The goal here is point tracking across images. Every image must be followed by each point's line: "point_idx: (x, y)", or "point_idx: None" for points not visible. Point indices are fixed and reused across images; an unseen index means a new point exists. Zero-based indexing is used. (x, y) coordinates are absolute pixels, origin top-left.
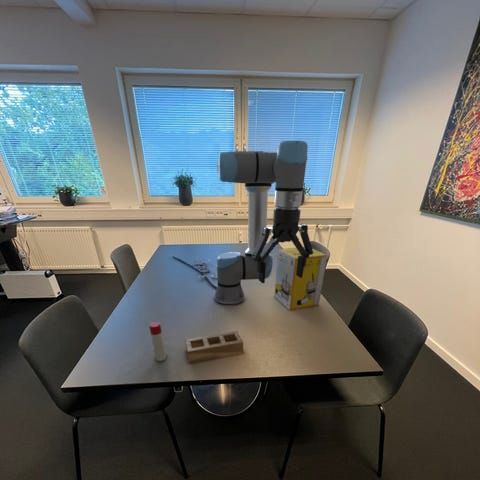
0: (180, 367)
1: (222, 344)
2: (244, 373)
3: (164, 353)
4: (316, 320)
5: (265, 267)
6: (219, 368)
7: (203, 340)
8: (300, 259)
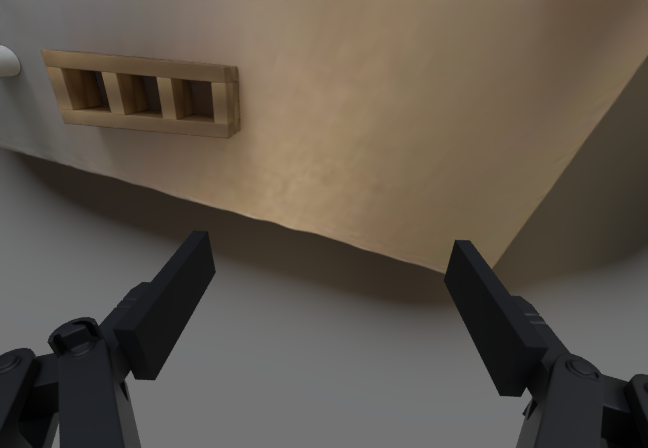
0: (73, 124)
1: (165, 127)
2: (224, 199)
3: (2, 69)
4: (569, 44)
5: (172, 348)
6: (171, 163)
7: (105, 81)
8: (500, 356)
